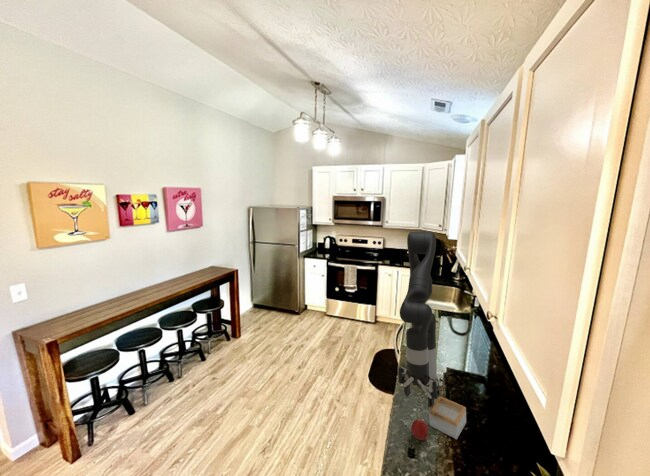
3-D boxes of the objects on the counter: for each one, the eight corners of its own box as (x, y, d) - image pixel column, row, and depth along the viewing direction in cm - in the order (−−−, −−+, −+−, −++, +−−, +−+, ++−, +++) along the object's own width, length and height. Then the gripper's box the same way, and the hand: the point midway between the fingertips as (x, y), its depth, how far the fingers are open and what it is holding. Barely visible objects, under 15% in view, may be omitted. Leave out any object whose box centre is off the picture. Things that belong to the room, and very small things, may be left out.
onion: (408, 439, 100) (408, 419, 99) (416, 429, 104) (415, 410, 103) (424, 448, 96) (423, 428, 95) (431, 438, 100) (430, 418, 99)
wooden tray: (443, 406, 115) (442, 391, 114) (468, 418, 108) (468, 402, 107) (429, 425, 106) (429, 409, 105) (456, 439, 99) (456, 423, 98)
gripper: (442, 360, 94) (443, 403, 96) (404, 347, 104) (405, 387, 106) (432, 370, 89) (434, 416, 90) (393, 355, 99) (395, 397, 100)
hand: (418, 400), depth 98 cm, fingers open, 8 cm apart
